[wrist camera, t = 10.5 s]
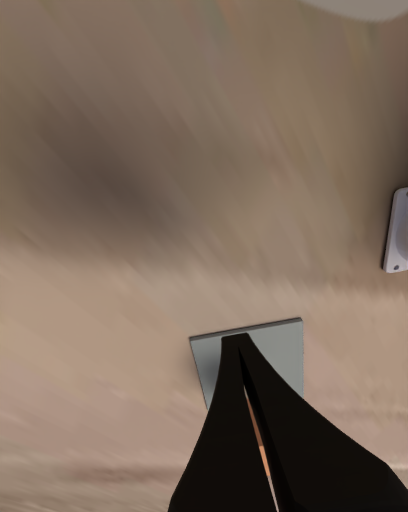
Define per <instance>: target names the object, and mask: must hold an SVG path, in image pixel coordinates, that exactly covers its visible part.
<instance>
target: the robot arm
mask: <svg viewBox="0 0 408 512" xmlns="http://www.w3.org/2000/svg"><path fill="white" fill-rule="evenodd" d="M407 192H408V187H406V188H401V189H398V190H397V191H396V192H395V194H394V199H393V206H392V212H391V219H390V226H389V233H388V239H387V246H386V253H385V259H384V266H383V270H384V271H385V272H387V273H393V272H399V271H404V270H408V194H407ZM406 194H407V195H406ZM244 387H245V389H244ZM245 390H246V393H247V396H248V399H249V402H250V405H251V408H252V411H253V415H254V418H255V421H256V424H257V427H258V430H259V433H260V436H261V440H262V443H263V447H264V451H265V455H266V459H267V463H268V468H269V472H270V476H271V480H272V484H273V488H274V492H275V497H276V501H277V505H278V509H279V512H408V489H407V488H406V487H405V486H404V484H403V483H402V482H401V480H400V479H399V478H398V477H397V475H396V474H395V473H394V472H393V471H392V469H391V468H390V467H389V466H388V465H387V463H385V462H384V461H382V460H381V459H379V458H378V457H376V456H375V455H374V454H372V453H371V452H369V451H368V450H366V449H365V448H364V447H362V446H361V445H359V444H358V443H357V442H355V441H354V440H353V439H351V438H350V437H349V436H347V435H346V434H345V433H343V432H342V431H341V430H339V429H338V428H337V427H336V426H334V425H333V424H332V423H331V422H330V421H328V420H327V419H326V418H325V417H324V416H322V415H321V414H320V413H319V412H317V411H316V410H315V409H314V408H313V407H312V406H311V405H309V404H308V403H307V402H306V401H305V400H304V399H303V398H302V397H301V396H300V395H299V394H298V393H297V392H296V391H294V390H293V389H292V388H291V386H290V385H289V384H288V383H287V382H286V381H285V380H284V379H283V378H282V377H281V376H280V375H279V374H278V373H277V371H276V370H275V369H274V368H273V367H272V366H271V364H270V363H269V362H268V361H267V359H266V358H265V357H264V356H263V354H262V353H261V352H260V350H259V349H258V348H257V346H256V345H255V343H254V342H253V340H252V339H251V337H250V335H249V334H248V333H247V332H245V333H240V334H234V335H228V336H223V337H222V338H221V357H220V365H219V371H218V376H217V381H216V385H215V390H214V394H213V397H212V401H211V404H210V408H209V411H208V414H207V417H206V420H205V423H204V425H203V428H202V431H201V434H200V436H199V439H198V441H197V444H196V446H195V448H194V451H193V453H192V455H191V458H190V460H189V462H188V464H187V467H186V469H185V471H184V473H183V475H182V477H181V479H180V481H179V483H178V485H177V487H176V489H175V491H174V493H173V495H172V497H171V501H170V504H169V508H168V512H277V510H276V506H275V503H274V499H273V496H272V492H271V489H270V485H269V481H268V478H267V474H266V470H265V467H264V463H263V460H262V456H261V452H260V448H259V445H258V441H257V437H256V433H255V429H254V426H253V422H252V418H251V414H250V410H249V406H248V402H247V398H246V395H245Z"/></svg>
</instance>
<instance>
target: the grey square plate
mask: <svg viewBox="0 0 408 512" xmlns="http://www.w3.org/2000/svg"><path fill="white" fill-rule="evenodd" d="M245 332H247V333H248V334H249V335H250V337H251V339H252V340H253V342H254V343H255V345H256V346H257V348H258V349H259V350H260V352H261V353H262V354H263V356H264V357H265V358H266V359H267V361H268V362H269V363H270V364H271V366H272V367H273V368H274V369H275V370H276V371H277V373H278V374H279V375H280V376H281V377H282V378H283V379H284V380H285V381H286V382H287V383H288V384H289V385H290V386H291V388H292V389H293V390H294V391H296V392H297V393H298V394H299V395H300V396H301V397H302V398H304V380H303V320H302V319H301V318H299V319H293V320H287V321H282V322H276V323H271V324H265V325H259V326H254V327H248V328H243V329H237V330H231V331H226V332H220V333H215V334H209V335H203V336H198V337H192V338H190V342H191V346H192V350H193V354H194V358H195V361H196V365H197V369H198V373H199V377H200V381H201V385H202V389H203V393H204V396H205V400H206V404H207V408H208V411H209V408H210V404H211V401H212V397H213V394H214V390H215V385H216V381H217V376H218V371H219V365H220V357H221V338H222V337H223V336H228V335H234V334H240V333H245Z"/></svg>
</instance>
